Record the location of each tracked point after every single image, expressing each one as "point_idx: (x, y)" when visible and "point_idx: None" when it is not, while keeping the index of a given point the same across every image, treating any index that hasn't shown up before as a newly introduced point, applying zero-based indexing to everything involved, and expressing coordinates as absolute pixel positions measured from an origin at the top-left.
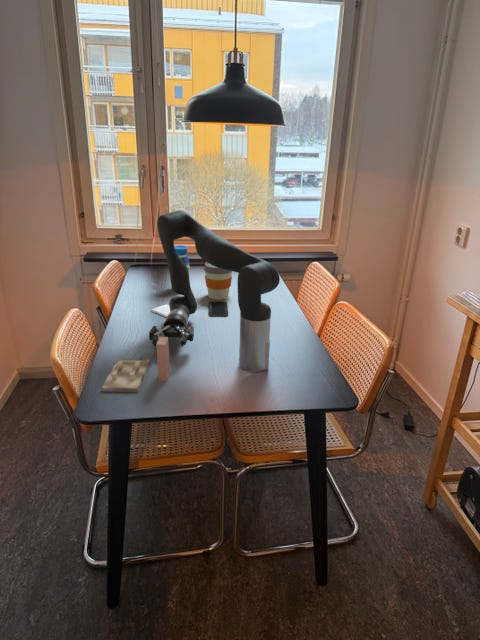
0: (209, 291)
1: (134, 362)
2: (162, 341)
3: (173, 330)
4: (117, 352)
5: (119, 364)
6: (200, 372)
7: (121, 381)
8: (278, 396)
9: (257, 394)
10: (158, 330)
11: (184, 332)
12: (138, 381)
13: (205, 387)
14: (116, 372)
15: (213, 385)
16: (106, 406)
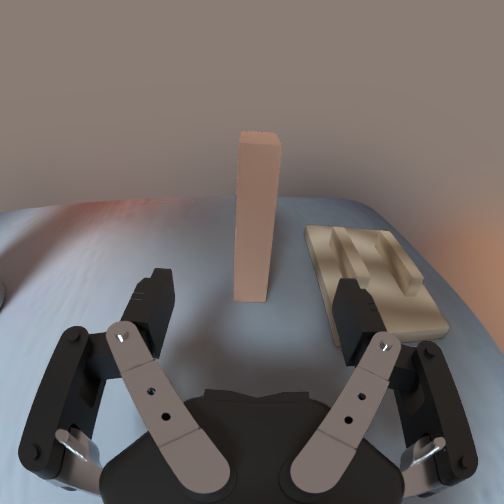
0: None
1: (388, 320)
2: (257, 135)
3: (240, 427)
4: (492, 400)
5: (406, 262)
6: (120, 294)
7: (359, 243)
8: (19, 224)
9: (43, 227)
10: (410, 462)
11: (120, 369)
12: (315, 241)
13: (129, 242)
14: (383, 235)
15: (107, 246)
16: (342, 212)
